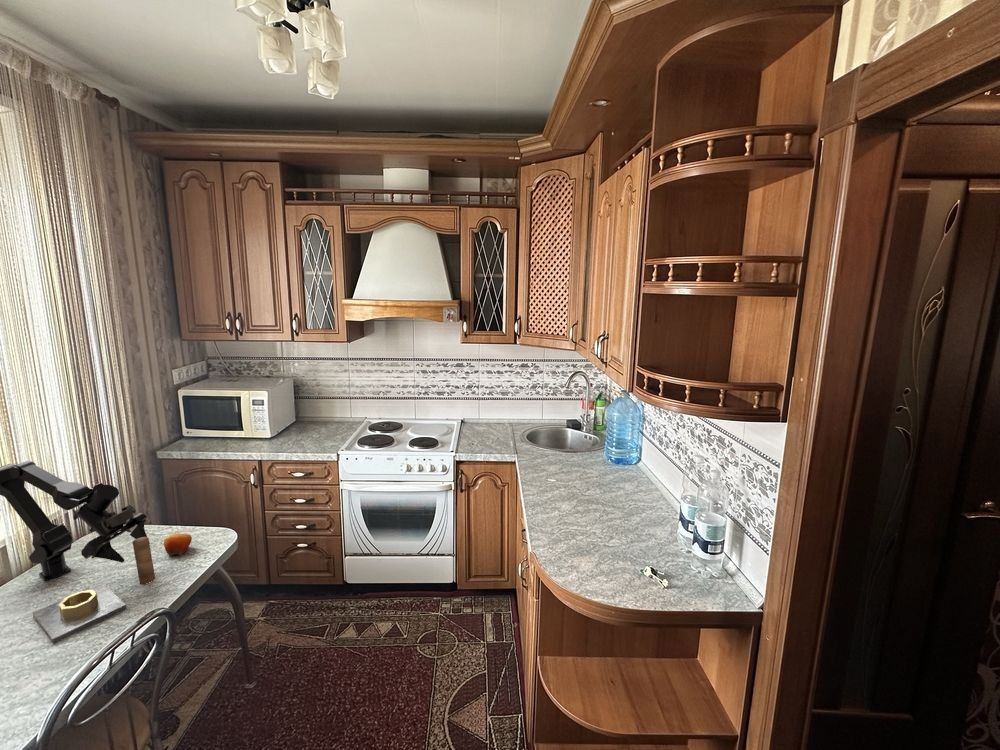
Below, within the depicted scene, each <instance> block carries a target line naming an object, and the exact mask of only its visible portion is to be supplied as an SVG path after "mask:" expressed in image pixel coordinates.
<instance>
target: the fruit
mask: <svg viewBox="0 0 1000 750" xmlns="http://www.w3.org/2000/svg"><path fill="white" fill-rule="evenodd" d="M192 540H193V537H192V535H191V534H188V533H173V534H172V533H171V534H170V535H169V536H167V537H165V538H164V541H163V546H164V547H163V548H164V550H165V552H166V553H167V555H168V556H169V557H171V556H174V555H180V557H182V554H183V553H185V552H186V551H188V549H189V548H190V545H191V543H192Z"/></svg>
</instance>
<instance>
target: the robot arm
mask: <svg viewBox="0 0 1000 750" xmlns="http://www.w3.org/2000/svg"><path fill="white" fill-rule="evenodd" d="M26 483H28V484H29V485H31V486H33V487H35V488H37V489H39V490H41V491H42V492H44V493H45V494H47V495H50V496H51V497H52V500H53V503H54V504H56V505H57V506H58V507H60V509H63V510H65V511H70V510H73V509H75V510H73V512H74V513H73V520H75V521H76V520H77V519H80V520H82V521H83V522H84V523H85V524H86V525H88V526H89V527H90V529H89V532H91V533H94V532H95V533H96V534H97V535H98V536H97V537H95V538H93V539H91V540H89V541H88V542H87V543H86V544H85V546H84V547H83V548H82V549H81V550H80V551H81V552H80V554H81V556H82V557H83V558H84V559H86V560H87V559H89V558H91V559H95V558H97V559H98V558H99V559H104V560H109V561H113V562H116V563H118V562H119V563H124V562H125V558H124V557H123V556H122V555H121V554H120V553H119V552H118V551H116V549H114V547H112V545H111V541H112V540H114V539H116V538H117V537H119V536H121V535H122V534H125V533H129V536H131V537H132V538H134V540H135V539H137V538H140V537H148V535H147V532H146V529H145V524H146V522H147V519H148V518H149V516H148V515H147V514H146V513H144V512H140V513H137V514H135V513H136V512H137V511H136V509H135V507H134V506H133V505H131V504H128V505H126V506H124V507H121V512H118V513H116V512H115V511H112V512H109V511H108V509H109V508H110V506H111V505H112V504H113V503H114V502H115V501H116V499H117V498H118V496H119V495H120V490H119V489H118V487H116V486H113V485H111V484H103V482H100V483H99V482H98V483H97V484H95V485H94V486H92V487H89V486H87V485H85V484H83V483H80V482H75V481H66V480H64V479H61V478H60V477H58V476H56V475H54V474H53V473H51V472H49V471H47V470H45V469H43V468H42V467H40V466H37V464H36V463H35V462H34V461H33V460H26V461H24V462H21V463H17V464H16V463H15V464H14V463H8V464H5V465H2V466H0V496H2V497H4V499H6V501H7V502H8V504H10V506H11V507H12V508H13V510H14V511H15V512H16V514H17V515H18V516H19V518H20V519H21V520H22V521H23V523H24V524H25V525H26V526H27V528H28V529H29V531H30V532H31V533H32V543H31V544H32V546H33V548H34V550H33V551H32V552H31V553H30V555H29V556H28V559H29V560H30V562H31V563H32V564H39V565H40V567H41V572H39V573H38V574H39V576H40V577H41V578H42V580H43V581H44V582H46V581H50V580H53V579H54V578H57V577H59V576H62V575H64V574H65V575H66V574H67V573H70V572H71V571H72V569H71V568H70V567H69V566H68V564H67V561H66V557H65V552H67V551H70V550H71V549H72V544H73V535H72V532H70V531H69V529H68V528H67V527H66V525H64V524H63V523H61V524H59V525H57V524H54V523H53V522H52V521H51V520H50V518H49V517H48V516H47V515H46V513H45V512H44V511H43V509H42V508H41V507H40V505H39V504H38V502H37V501H36V500H35V499H34V498H33V495H31V494H30V492H29V491H28V490H27V488H26V487H25V486H26V485H25V484H26ZM77 507H79V508H78V509H76V508H77ZM134 514H135V515H134ZM149 544H151V541H149Z"/></svg>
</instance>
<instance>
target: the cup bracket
mask: <svg viewBox="0 0 1000 750" xmlns="http://www.w3.org/2000/svg"><path fill="white" fill-rule="evenodd" d="M125 609H126V610H127V604H126V603H125V602H124V601H123V600H122V599H121V598H119V596H118V595H116V594H115V593H114V592H113V591H112V590H111V589H110V588H109V587H108V586H107V585H106V584H105V583H103V582H102V583H99V584H97V585H95V586H94V585H93V586H91V587H89V588H87V589H85V590H81V591H79V592H75V593H73V594H71V595H69V596H67V597H65V598H64V599H62V600H60V601H56V602H54V603H52V604H50V605H47V606H45V607H43V608H40V609H38V610H36V611H33V612H32V616H33V617H32V618H33V619H34V618H35V619H34V620H35V622H36V623H37V624H38V625H39V627H40V628H41V630H43V632H44V633H45V635H46V636H47V638H48V639H49V640H50V642H51V643H52V644H53V645H55V644H57V643H58V642H61V641H62V640H65V639H67V638H70V637H72V636H73V635H76V634H78V633H80V632H82V631H84V630H86V629H89V628H90V627H92V626H94V625H96V624H98V623H101V622H102V621H105V620H107V619H109V618H111V617H113V616H115V614H116V615H118V614H119V612H120V613H122V612H124V611H126V610H125ZM123 610H124V611H123ZM121 611H122V612H121ZM117 613H118V614H117Z"/></svg>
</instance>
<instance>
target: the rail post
mask: <svg viewBox="0 0 1000 750" xmlns="http://www.w3.org/2000/svg"><path fill="white" fill-rule="evenodd" d="M149 542H150V540H149V537H148V536H147V537H140V538H137V539H135V538H134V540H133V541H132V546H133V552H134V558H135V563H136V569H137V576H138V582H139V584H140V585H147V584H146V583H148V584H150V583H149V582H151V581H152V582H154V581H155V580H156V573H155V568H154V563H153V562H154V561H153V557H152V551H151V545H150V544H151V543H150V544H149ZM154 579H155V580H154ZM153 580H154V581H153ZM152 582H151V583H152Z"/></svg>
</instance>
